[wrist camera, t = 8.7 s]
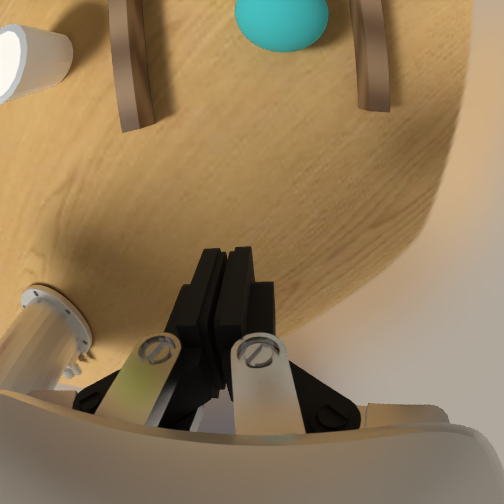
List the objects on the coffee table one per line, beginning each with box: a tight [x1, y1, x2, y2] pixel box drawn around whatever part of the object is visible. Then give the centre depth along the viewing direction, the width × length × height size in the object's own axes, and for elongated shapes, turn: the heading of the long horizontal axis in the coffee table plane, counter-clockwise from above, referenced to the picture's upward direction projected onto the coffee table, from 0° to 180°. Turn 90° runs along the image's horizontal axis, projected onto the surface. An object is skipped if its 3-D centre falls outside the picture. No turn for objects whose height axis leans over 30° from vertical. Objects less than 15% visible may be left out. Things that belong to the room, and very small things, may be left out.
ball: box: [235, 0, 329, 52], centre depth 14 cm, size 6×6×6 cm
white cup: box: [0, 23, 73, 104], centre depth 15 cm, size 7×7×7 cm
